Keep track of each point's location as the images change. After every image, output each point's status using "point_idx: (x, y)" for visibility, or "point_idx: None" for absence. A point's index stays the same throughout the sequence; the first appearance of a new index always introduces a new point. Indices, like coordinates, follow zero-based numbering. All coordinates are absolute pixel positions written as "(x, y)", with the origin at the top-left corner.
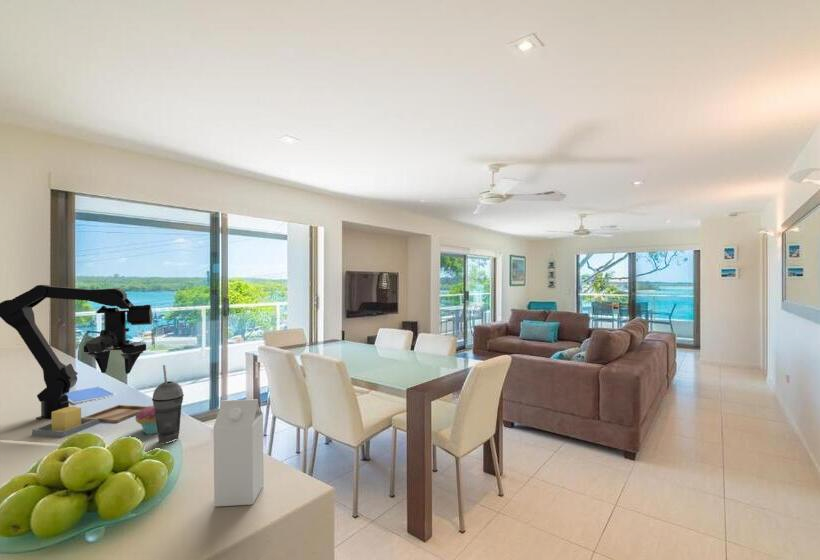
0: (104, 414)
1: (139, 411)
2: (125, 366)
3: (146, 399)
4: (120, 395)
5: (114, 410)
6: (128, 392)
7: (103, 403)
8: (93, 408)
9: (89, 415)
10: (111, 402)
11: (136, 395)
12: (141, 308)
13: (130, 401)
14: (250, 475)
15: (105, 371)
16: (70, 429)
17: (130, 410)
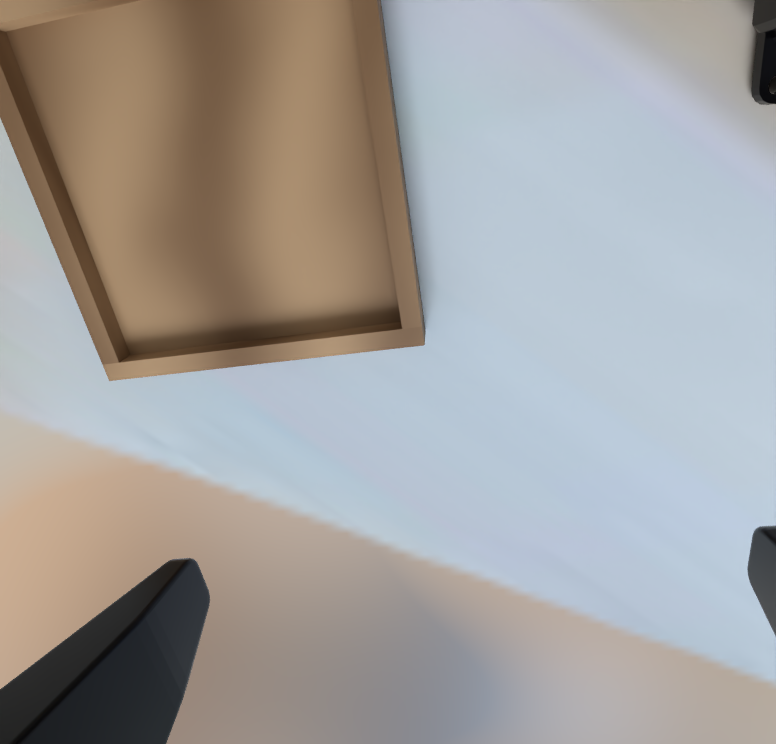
0: (344, 148)
1: (61, 261)
2: (60, 676)
3: (444, 546)
4: None
5: (370, 261)
6: (758, 640)
7: (720, 408)
8: (685, 285)
9: (374, 5)
10: (669, 442)
11: (618, 599)
12: None
13: (524, 491)
14: None
15: (758, 587)
16: None
17: (237, 300)
